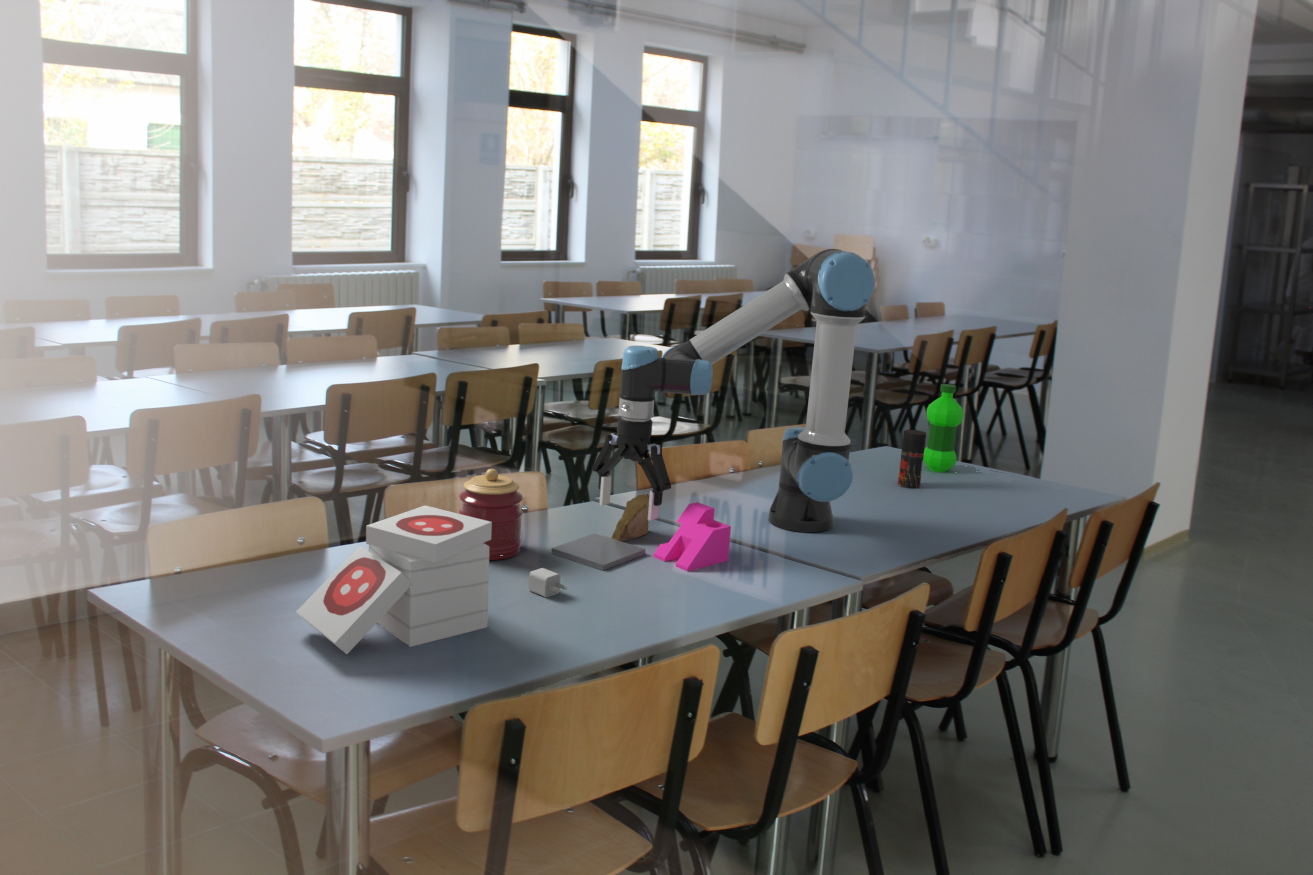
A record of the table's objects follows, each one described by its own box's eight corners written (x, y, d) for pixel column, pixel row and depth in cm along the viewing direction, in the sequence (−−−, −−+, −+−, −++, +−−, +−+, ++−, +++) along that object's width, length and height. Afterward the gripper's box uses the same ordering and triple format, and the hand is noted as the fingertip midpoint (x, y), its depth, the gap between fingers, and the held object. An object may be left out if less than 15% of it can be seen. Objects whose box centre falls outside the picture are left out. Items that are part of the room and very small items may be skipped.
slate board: (645, 554, 230) (645, 549, 230) (603, 570, 219) (603, 564, 219) (594, 538, 238) (594, 533, 238) (551, 553, 227) (551, 547, 227)
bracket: (694, 547, 237) (697, 502, 234) (728, 561, 230) (731, 514, 227) (653, 557, 229) (656, 510, 227) (687, 571, 222) (690, 523, 219)
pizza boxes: (291, 629, 183) (289, 527, 179) (448, 594, 202) (450, 501, 198) (341, 671, 169) (340, 561, 165) (505, 629, 188) (508, 530, 184)
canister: (445, 548, 226) (446, 466, 222) (494, 536, 235) (496, 457, 231) (484, 565, 217) (486, 481, 213) (533, 552, 227) (536, 471, 223)
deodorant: (921, 489, 295) (928, 435, 291) (900, 487, 295) (906, 434, 292) (917, 483, 301) (923, 430, 297) (895, 481, 301) (901, 429, 297)
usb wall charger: (543, 586, 209) (544, 567, 208) (569, 596, 204) (570, 576, 204) (528, 591, 206) (529, 571, 205) (554, 602, 201) (555, 582, 200)
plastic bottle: (921, 472, 313) (931, 387, 307) (919, 463, 323) (929, 380, 317) (957, 475, 311) (968, 390, 306) (953, 467, 321) (964, 384, 316)
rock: (619, 537, 233) (661, 527, 236) (607, 500, 235) (649, 491, 239) (606, 552, 242) (647, 543, 246) (595, 517, 245) (636, 508, 248)
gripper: (580, 409, 239) (574, 501, 244) (671, 431, 225) (663, 528, 230) (602, 405, 245) (595, 495, 250) (692, 426, 231) (684, 521, 236)
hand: (628, 511), depth 240 cm, fingers open, 13 cm apart
